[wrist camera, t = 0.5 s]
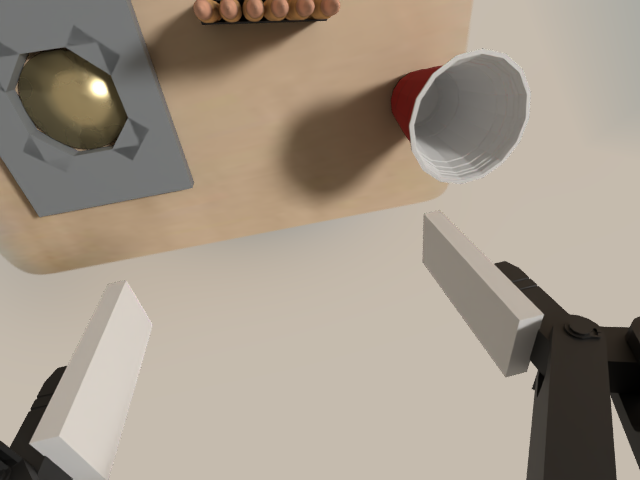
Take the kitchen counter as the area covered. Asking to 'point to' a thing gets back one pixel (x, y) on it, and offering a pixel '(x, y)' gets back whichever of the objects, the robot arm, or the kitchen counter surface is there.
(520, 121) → the plastic cup
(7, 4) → the socket plate
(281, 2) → the ammunition clip
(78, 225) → the kitchen counter surface
